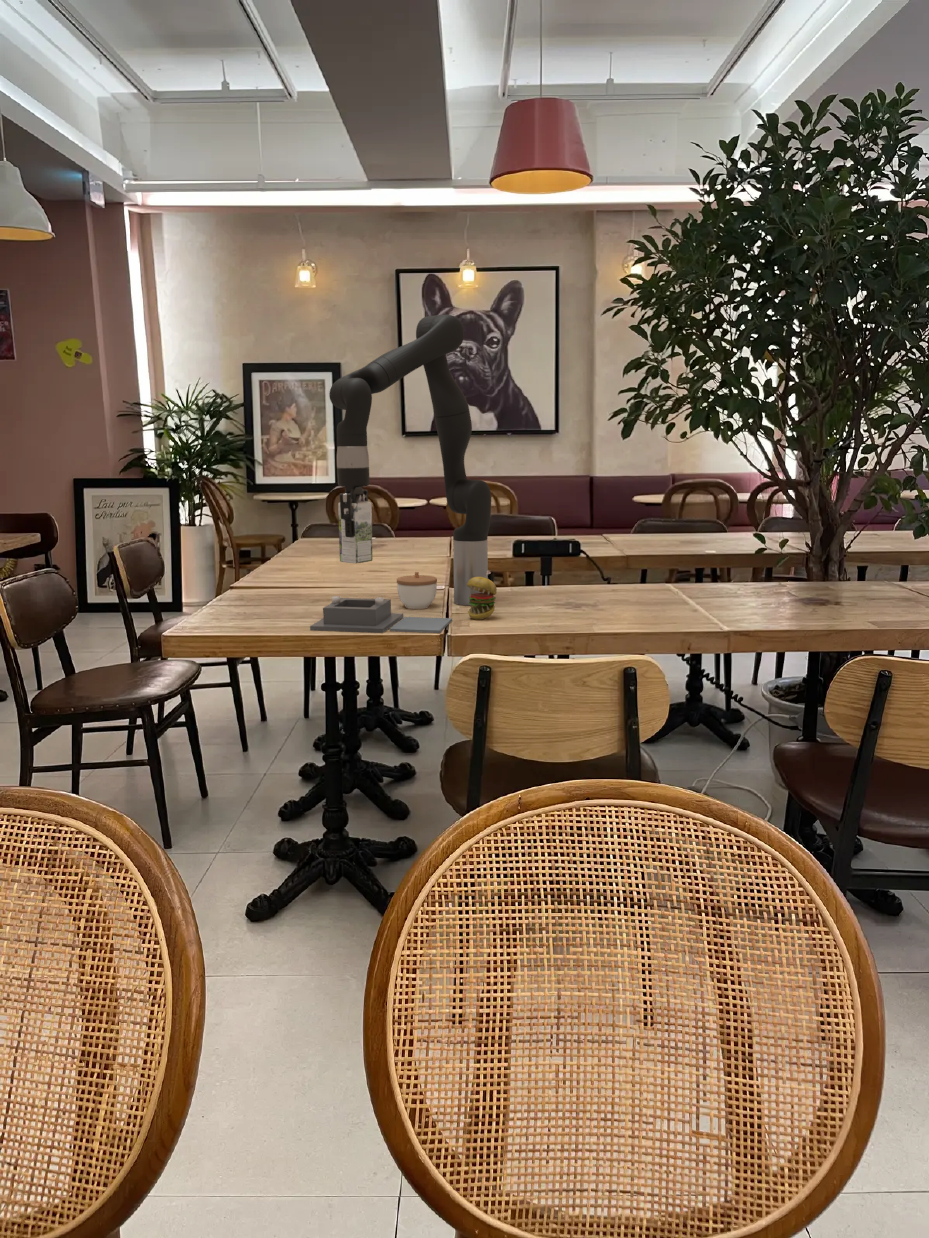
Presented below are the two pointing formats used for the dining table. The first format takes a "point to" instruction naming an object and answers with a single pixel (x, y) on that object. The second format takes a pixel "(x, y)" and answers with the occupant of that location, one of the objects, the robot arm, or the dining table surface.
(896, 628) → the dining table surface
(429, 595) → the lidded jar
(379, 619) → the holder
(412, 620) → the mat
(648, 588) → the dining table surface
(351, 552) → the syrup box
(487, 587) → the hamburger
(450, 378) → the robot arm
